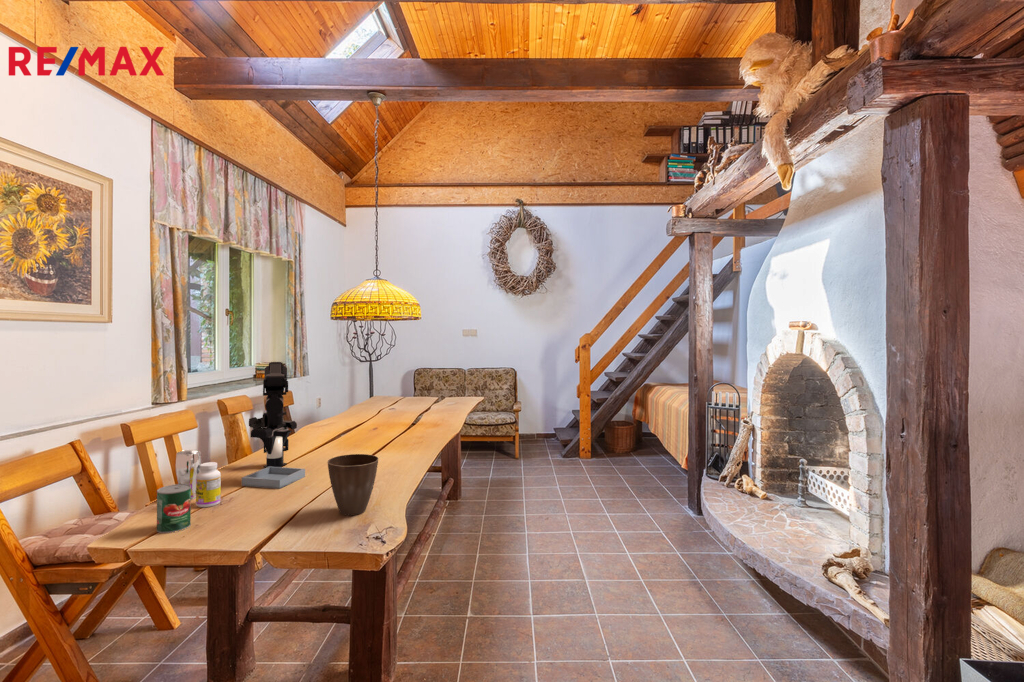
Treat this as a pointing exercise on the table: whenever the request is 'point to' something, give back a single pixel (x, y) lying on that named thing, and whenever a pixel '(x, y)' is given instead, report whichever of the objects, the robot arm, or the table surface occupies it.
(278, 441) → the cream rounded block
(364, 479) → the plant pot
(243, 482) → the tray
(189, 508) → the canned tomato
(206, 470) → the supplement bottle
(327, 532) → the table surface
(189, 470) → the light grey tall piece
